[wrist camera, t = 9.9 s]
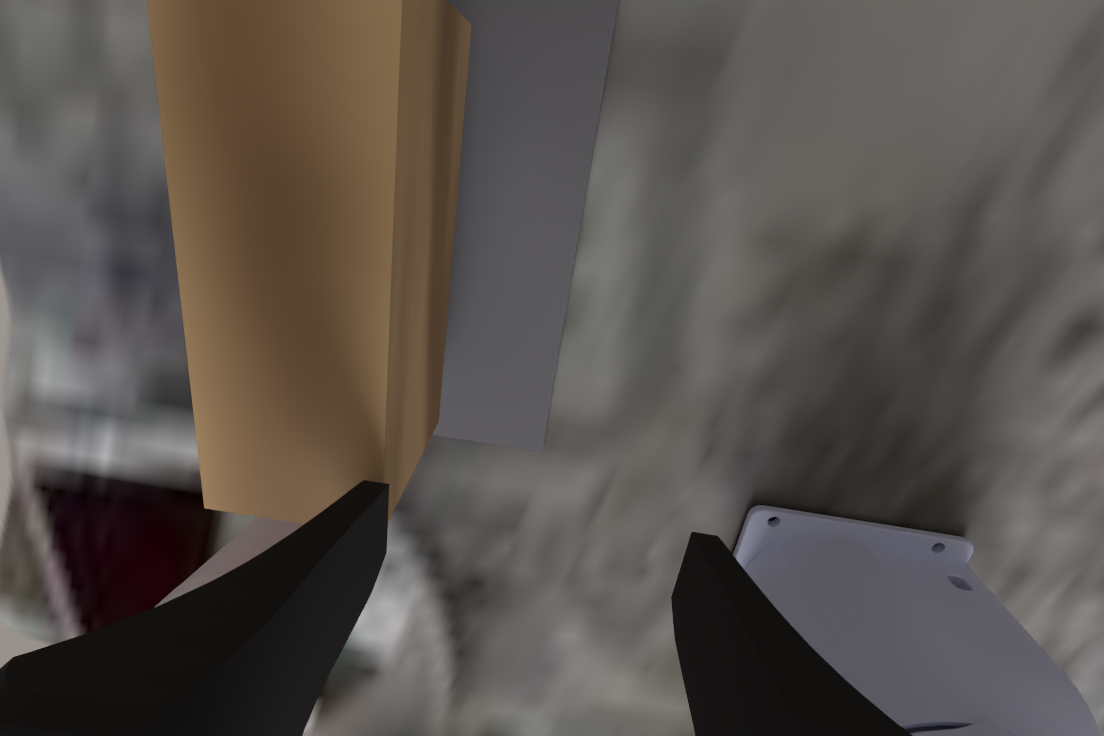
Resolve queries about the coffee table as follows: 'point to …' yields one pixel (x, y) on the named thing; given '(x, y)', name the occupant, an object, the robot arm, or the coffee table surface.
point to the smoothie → (237, 553)
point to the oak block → (311, 236)
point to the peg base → (519, 209)
